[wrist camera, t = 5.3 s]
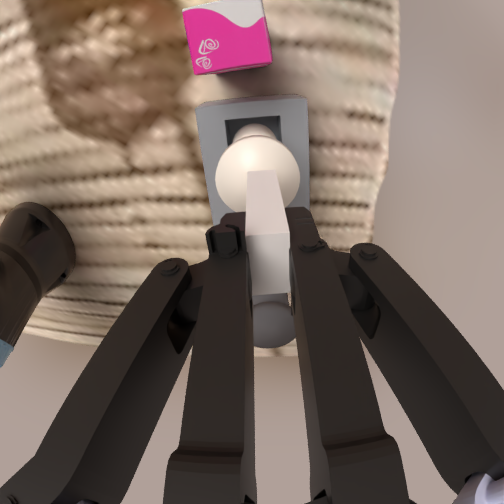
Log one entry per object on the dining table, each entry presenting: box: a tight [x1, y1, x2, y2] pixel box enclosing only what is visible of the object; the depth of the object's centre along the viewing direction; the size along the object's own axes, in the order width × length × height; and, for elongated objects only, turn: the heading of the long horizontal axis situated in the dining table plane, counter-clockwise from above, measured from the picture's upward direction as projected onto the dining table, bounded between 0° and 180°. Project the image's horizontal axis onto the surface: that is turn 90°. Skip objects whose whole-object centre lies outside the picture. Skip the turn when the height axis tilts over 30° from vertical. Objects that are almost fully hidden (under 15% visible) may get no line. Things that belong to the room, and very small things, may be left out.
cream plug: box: [215, 123, 300, 212], centre depth 21 cm, size 5×5×9 cm
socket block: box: [195, 94, 310, 226], centre depth 32 cm, size 10×22×6 cm, turn 5°
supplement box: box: [182, 0, 272, 75], centre depth 20 cm, size 6×6×12 cm
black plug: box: [252, 293, 296, 348], centre depth 29 cm, size 5×5×9 cm
